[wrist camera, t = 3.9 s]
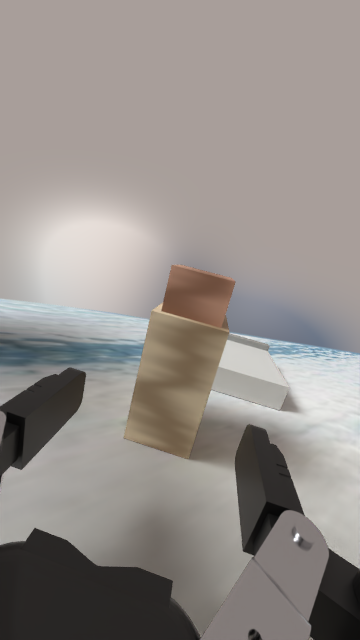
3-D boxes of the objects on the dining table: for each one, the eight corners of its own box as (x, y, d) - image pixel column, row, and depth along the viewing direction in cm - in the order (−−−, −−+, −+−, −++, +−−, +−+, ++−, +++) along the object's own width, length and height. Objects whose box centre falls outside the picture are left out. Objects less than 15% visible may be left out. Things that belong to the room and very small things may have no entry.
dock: (161, 374, 27) (168, 345, 26) (177, 341, 39) (183, 320, 38) (279, 410, 26) (292, 381, 25) (260, 365, 38) (268, 344, 37)
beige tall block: (123, 438, 17) (162, 263, 14) (143, 399, 22) (175, 263, 19) (188, 459, 17) (244, 284, 13) (194, 415, 22) (236, 279, 18)
